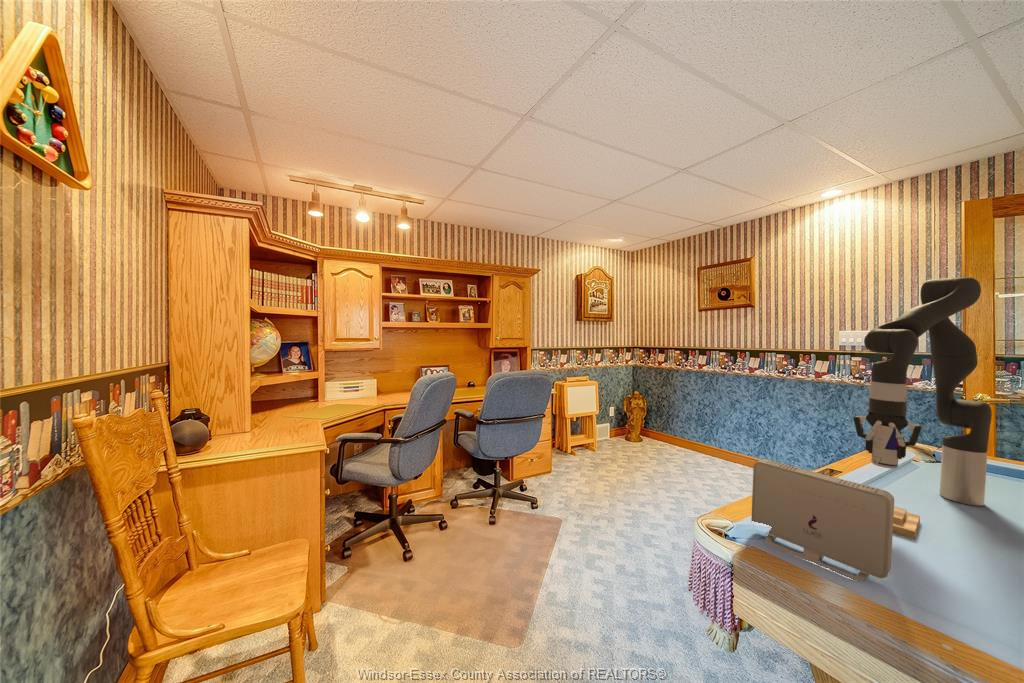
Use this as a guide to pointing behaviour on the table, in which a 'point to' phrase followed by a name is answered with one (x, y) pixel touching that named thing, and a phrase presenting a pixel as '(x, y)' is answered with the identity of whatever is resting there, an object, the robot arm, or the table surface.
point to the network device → (825, 517)
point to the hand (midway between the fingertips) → (884, 455)
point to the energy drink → (885, 447)
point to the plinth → (905, 523)
